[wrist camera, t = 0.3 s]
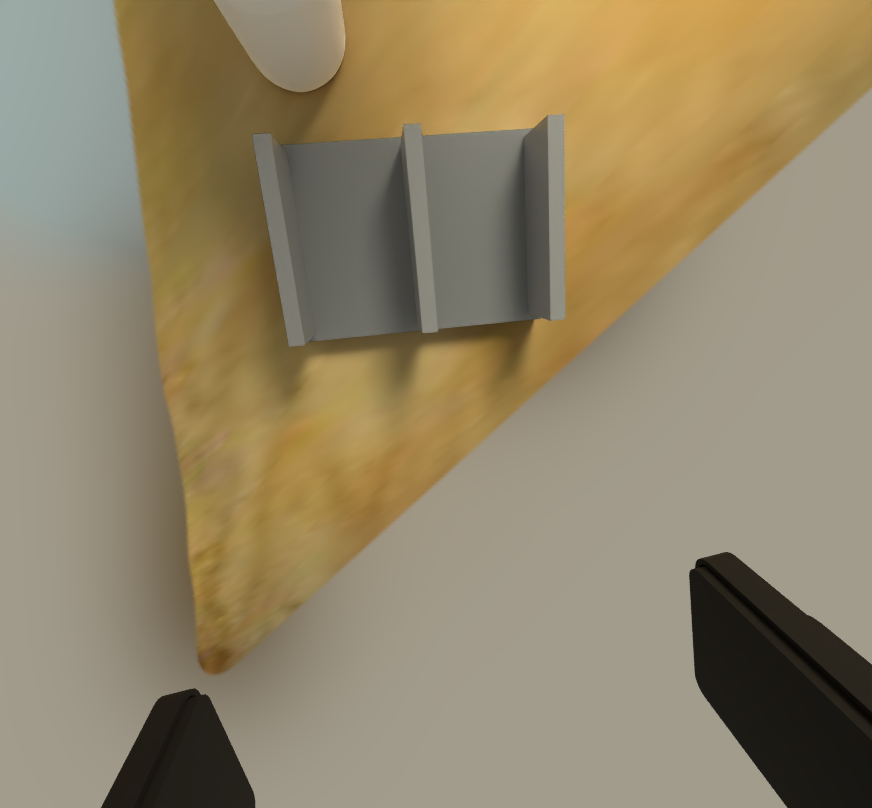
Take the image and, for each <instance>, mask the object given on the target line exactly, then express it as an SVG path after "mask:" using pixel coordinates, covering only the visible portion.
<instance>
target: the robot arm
mask: <svg viewBox="0 0 872 808" xmlns="http://www.w3.org/2000/svg"><path fill="white" fill-rule="evenodd" d="M689 574H690V575H689V579H690V595H691V614H692V632H693V648H694V666H695V677H696V680H697V683H698V686H699V688H700V690H701V692H702V693H703V695H704V696H705V698H706V699H707V701H708V702H709V703H710V705H711V706H712V707H713V709H714V710H715V711H716V713H717V714H718V715H719V717H720V718H721V719H722V721H723V722H724V723H725V725H726V726H727V727H728V729H729V730H730V731H731V733H732V734H733V735H734V737H735V738H736V739H737V741H738V742H739V744H740V745H741V746H742V748H743V749H744V750H745V752H746V753H747V754H748V755H749V757H750V758H751V759H752V761H753V762H754V764H755V765H756V766H757V768H758V769H759V770H760V772H761V773H762V774H763V775H764V777H765V778H766V780H767V781H768V782H769V784H770V785H771V786H772V788H773V789H774V790H775V792H776V793H777V794H778V796H779V797H780V798H781V800H782V801H783V802H784V804H785V805H786V806H787V808H872V664H870V663H869V662H868V661H867V660H866V659H864V658H863V657H862V656H861V655H859V654H858V653H857V652H856V651H854V650H853V649H852V648H851V647H850V646H848V645H847V644H846V643H845V642H843V641H842V640H841V639H840V638H839V637H837V636H836V635H835V634H834V633H832V632H831V631H830V630H829V629H827V628H826V627H825V626H824V625H823V624H821V623H820V622H819V621H817V620H816V619H814V618H813V617H811V616H809V615H806V614H805V613H804V612H803V611H801V610H800V609H799V608H798V607H796V606H795V605H794V604H793V603H792V602H790V601H789V600H788V599H787V598H785V597H784V596H783V595H782V594H781V593H780V592H778V591H777V590H776V589H775V588H773V587H772V586H771V585H770V584H769V583H767V582H766V581H765V580H764V579H762V578H761V577H760V576H759V575H757V573H755V572H754V571H753V570H752V569H750V568H749V567H748V566H747V565H746V564H744V563H743V562H742V561H741V560H740V559H738V558H737V557H736V556H735V555H733V554H731V553H728V552H724V553H720V554H717V555H713V556H709V557H705V558H701V559H698V560H697V561H696V566H695V569H692V570H690V573H689ZM101 808H255V797H254V793H253V790H252V788H251V786H250V784H249V782H248V779H247V778H246V776H245V773H244V771H243V769H242V767H241V764H240V762H239V760H238V758H237V756H236V754H235V751H234V749H233V747H232V745H231V743H230V741H229V739H228V736H227V734H226V732H225V730H224V728H223V726H222V723H221V721H220V720H219V717H218V715H217V713H216V711H215V709H214V706H213V704H212V702H211V700H210V698H209V697H208V696H207V695H206V694H205V695H201V694H200V693H199V691H198V690H196V689H189V690H185V691H181V692H177V693H173V694H169V695H165V696H162V697H161V698H159V699H158V700H157V702H156V703H155V705H154V706H153V708H152V710H151V713H150V714H149V716H148V718H147V720H146V722H145V724H144V726H143V728H142V730H141V731H140V733H139V735H138V737H137V739H136V741H135V743H134V745H133V747H132V749H131V751H130V753H129V755H128V757H127V759H126V760H125V762H124V764H123V766H122V768H121V770H120V772H119V774H118V776H117V778H116V780H115V782H114V784H113V786H112V788H111V789H110V792H109V793H108V795H107V797H106V799H105V801H104V803H103V805H102V807H101Z"/></svg>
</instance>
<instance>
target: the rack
mask: <svg viewBox="0 0 872 808" xmlns="http://www.w3.org/2000/svg"><path fill="white" fill-rule="evenodd" d="M252 138H253V144H254V150H255V156H256V161H257V167H258V173H259V178H260V184H261V190H262V196H263V201H264V207H265V213H266V218H267V224H268V230H269V236H270V241H271V247H272V253H273V258H274V264H275V270H276V276H277V281H278V287H279V293H280V298H281V304H282V310H283V316H284V321H285V327H286V333H287V338H288V344H289V347H292V346H302V345H306V344H307V343H308V342H311V341H321V340H331V339H341V338H351V337H362V336H372V335H382V334H392V333H402V332H412V331H421V332H422V333H432V332H438V329H442V328H452V327H462V326H472V325H482V324H493V323H503V322H513V321H523V320H533V319H541V318H544V319H547V320H550V321H552V320H563V319H565V172H564V114H561V115H548V116H546V117H545V118H544V119H543V120H542V121H541V122H540V123H539V124H538V125H536V126H535V127H534V128H532V129H517V130H501V131H486V132H471V133H456V134H441V135H426V136H422V132H421V123H420V124H404V125H403V131H402V137H396V138H381V139H365V140H350V141H335V142H320V143H305V144H290V145H280V144H279V143H278V142H277V141H276V140H275V138H274V137H273V136H272V135H271V134H270V133H264V134H252Z"/></svg>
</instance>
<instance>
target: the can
mask: <svg viewBox="0 0 872 808" xmlns="http://www.w3.org/2000/svg"><path fill="white" fill-rule="evenodd" d="M213 1H214V2H215V4H216V5H217V7H218V9H219V10H220V12H221V13H222V15H223V16H224V18H225V20H226V21H227V23H228V24H229V26H230V27H231V29H232V31H233V32H234V34H235V35H236V37H237V38H238V40H239V41H240V43H241V45H242V46H243V48H244V49H245V51H246V52H247V54H248V55H249V57H250V58H251V60H252V61H253V63H254V64H255V66H256V67H257V68H258V70H259V71H260V72H261V73H262V74H263V75H264V76H265V77H266V78H267V79H268V80H270V81H271V82H272V83H274V84H275V85H277V86H279V87H281V88H284V89H286V90H290V91H294V92H308V91H312V90H314V89H317V88H319V87H321V86H322V85H324V84H325V83H327V82H328V81H329V80H330V79H332V77H333V76H334V75H335V74H336V72H337V71H338V69H339V67H340V65H341V63H342V60H343V57H344V52H345V44H346V35H345V26H344V18H343V12H342V5H341V0H213Z"/></svg>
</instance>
